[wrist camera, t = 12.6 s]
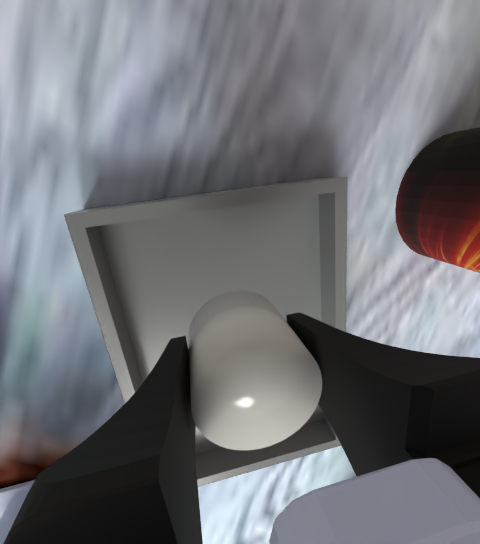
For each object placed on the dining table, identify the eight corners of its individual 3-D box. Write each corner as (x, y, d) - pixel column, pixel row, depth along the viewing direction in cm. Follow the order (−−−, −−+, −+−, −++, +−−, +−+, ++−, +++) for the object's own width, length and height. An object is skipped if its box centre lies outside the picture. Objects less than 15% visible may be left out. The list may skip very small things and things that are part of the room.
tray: (327, 416, 27) (344, 444, 24) (158, 462, 25) (155, 499, 22) (323, 177, 20) (347, 176, 17) (82, 209, 17) (63, 214, 14)
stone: (285, 364, 14) (323, 431, 10) (196, 384, 13) (202, 464, 10) (278, 282, 12) (321, 325, 9) (179, 300, 12) (179, 355, 8)
